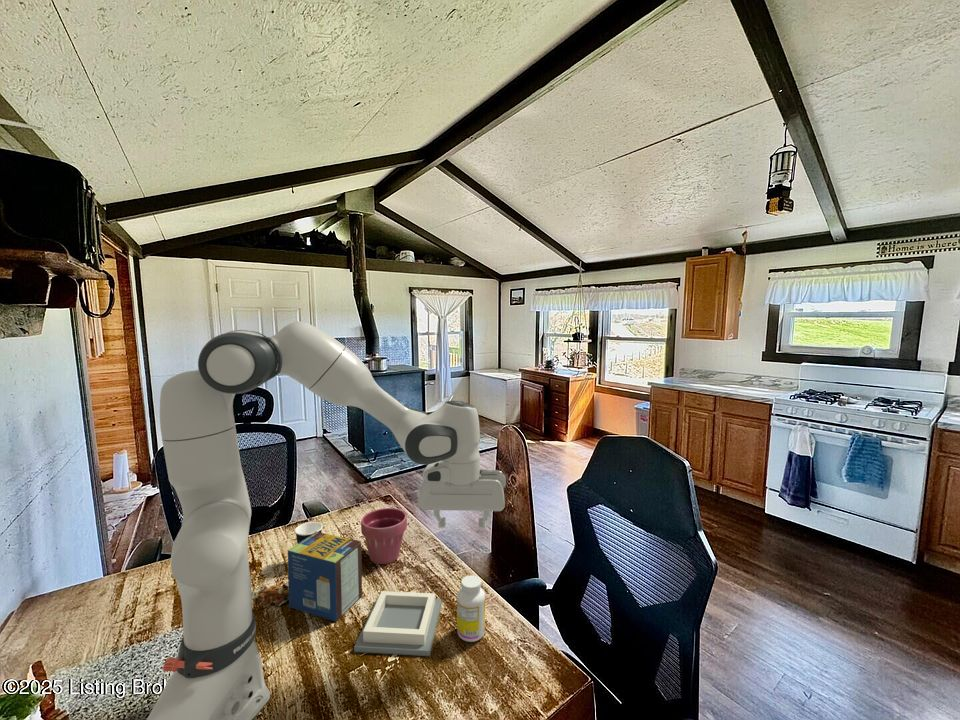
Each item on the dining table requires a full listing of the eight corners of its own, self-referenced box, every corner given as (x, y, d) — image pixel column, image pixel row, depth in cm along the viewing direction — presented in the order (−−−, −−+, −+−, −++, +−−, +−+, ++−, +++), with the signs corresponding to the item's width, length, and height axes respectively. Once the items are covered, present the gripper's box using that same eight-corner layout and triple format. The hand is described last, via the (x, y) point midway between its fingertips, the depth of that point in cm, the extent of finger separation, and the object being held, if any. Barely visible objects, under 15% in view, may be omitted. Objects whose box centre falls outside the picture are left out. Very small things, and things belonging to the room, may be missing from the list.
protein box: (317, 583, 112) (315, 530, 111) (362, 596, 107) (362, 540, 106) (287, 607, 102) (286, 549, 101) (336, 623, 97) (335, 562, 96)
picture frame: (429, 656, 87) (429, 640, 87) (354, 651, 88) (354, 636, 88) (441, 603, 104) (441, 590, 104) (378, 600, 105) (378, 587, 105)
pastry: (258, 588, 110) (258, 576, 110) (298, 591, 109) (298, 579, 109) (240, 605, 103) (240, 592, 103) (283, 609, 102) (282, 596, 102)
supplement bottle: (471, 618, 99) (472, 569, 98) (490, 632, 94) (491, 581, 93) (451, 632, 94) (451, 580, 93) (470, 648, 90) (470, 594, 89)
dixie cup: (295, 572, 117) (294, 536, 116) (295, 558, 124) (294, 524, 123) (324, 566, 120) (323, 531, 119) (322, 552, 127) (321, 519, 127)
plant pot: (358, 549, 129) (357, 511, 128) (401, 540, 135) (400, 504, 134) (365, 574, 116) (364, 532, 115) (412, 562, 122) (412, 522, 121)
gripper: (505, 465, 95) (505, 520, 96) (421, 464, 96) (422, 519, 97) (506, 475, 89) (506, 534, 90) (415, 474, 90) (417, 532, 91)
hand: (462, 526), depth 93 cm, fingers open, 8 cm apart
